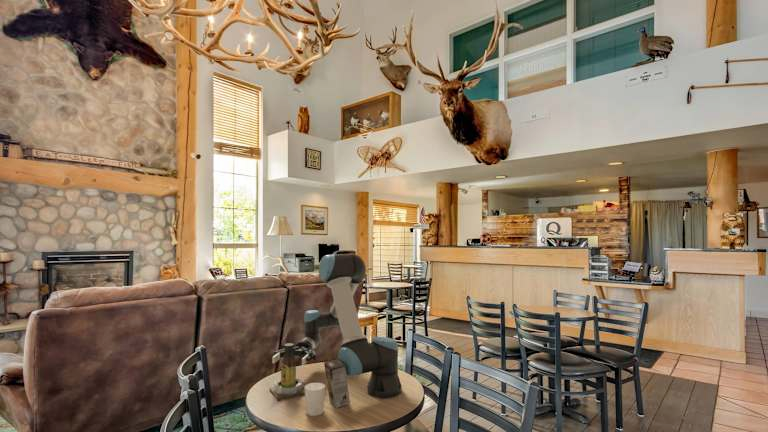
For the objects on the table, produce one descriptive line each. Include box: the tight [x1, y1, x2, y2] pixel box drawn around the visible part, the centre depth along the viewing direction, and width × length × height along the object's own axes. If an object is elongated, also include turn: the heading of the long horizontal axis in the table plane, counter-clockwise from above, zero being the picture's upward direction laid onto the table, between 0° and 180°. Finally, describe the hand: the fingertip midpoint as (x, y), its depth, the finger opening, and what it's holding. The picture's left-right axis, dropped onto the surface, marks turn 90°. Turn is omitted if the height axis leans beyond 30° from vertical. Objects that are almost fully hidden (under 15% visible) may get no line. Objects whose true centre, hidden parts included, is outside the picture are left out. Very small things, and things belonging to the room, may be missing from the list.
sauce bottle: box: [280, 342, 297, 387], centre depth 180 cm, size 6×6×20 cm
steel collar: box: [273, 378, 303, 395], centre depth 179 cm, size 12×12×3 cm
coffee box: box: [323, 358, 351, 409], centre depth 169 cm, size 9×6×16 cm
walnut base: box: [269, 386, 305, 402], centre depth 179 cm, size 13×13×1 cm
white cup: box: [304, 382, 326, 417], centre depth 160 cm, size 8×8×10 cm
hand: (287, 361), depth 179 cm, fingers open, 13 cm apart
